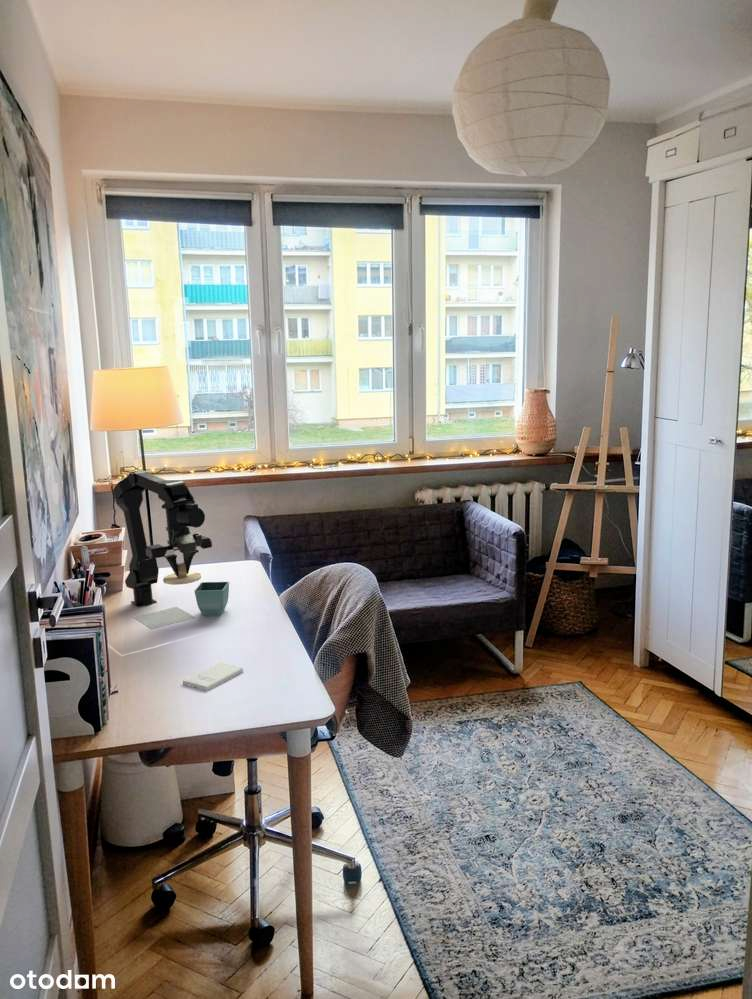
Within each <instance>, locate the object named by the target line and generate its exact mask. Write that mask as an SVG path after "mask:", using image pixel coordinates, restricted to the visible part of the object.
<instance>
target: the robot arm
mask: <svg viewBox="0 0 752 999" xmlns="http://www.w3.org/2000/svg"><path fill="white" fill-rule="evenodd" d="M146 490H148V491H150V492H152V493H154V494H157V497H158V499H159V500H161V501H162V502H164V503H163V504H162V505H161V508H162V509H165V516H166V517H165V518H166V525H167V527H166V526H165V530H166V532H167V536H168V537H167V538H168V540H167V545H165V546H164V545H161V544H157V543H156V544H152V545H148V544H147V540H146V534H145V529H144V524H143V519H142V513H141V505H142V504H143V500H144V497H143V496H144V495H143V493H144V492H145V491H146ZM112 495H113V497H114V500H115V503H116V505H117V506H118V507H119V508H120V509H121V511H122V512H123V515H124V521H125V525H126V530H127V535H128V540H129V545H130V549H131V555H132V557H131V559H130V562H129V565H128V568H129V572H128V574H127V576H126V577H125V580H124V583H125V586H126V588H129V589H131V590H132V591H133V600H131V601H130V604H131V603H132V604H131V605H133V606H134V607H137V608H140V607H144V606H148V605H152V604H153V605H154V604H157V603H158V602H157V600H155V599H154V598H153V597H154V596H153V589H152V585H153V584H158V581H159V580H158V579H159V573H160V572H159V570H160V569H159V566H158V561H157V559H158V558H165V559H166V561H167V562H168V564H169V565H170V567H171V570H172V571H173V574H174V573H175V575H176V576H178V567H177V558H178V555H177V554H175V552H176V551H179V552H180V553H181V554H182V557H183V563H186V572H187V574H188V573H189V572H190V568H191V564H192V561H193V558H194V556H195V555H196V554H197V553H199V551H200V550H199V549H198V547H200V548H201V549H202V550H206V549H209V548H212V547H213V542H212V540H211V538H210V537H207V536H205V535H202V534H201V532H196V533H191V532H190V531H191V530H190V527H192V528H196V529H197V528H200V527H201V526H203V525H204V523H205V521H206V520H205V519H206V514H205V512H204V511H203V509H201V508H200V507H199V504H198V503H196V501H195V499H194V496H193V494H191V491H190V490H189V488H188V486H187V484H186V482H184V481H183V480H179V479H177V480H176V479H175V480H174V479H172V480H168V479H164V478H162V477H159V476H156V475H155V474H151V473H148V472H147V471H146V470H136V471H131V472H129V474H128V475H127V476H126V477H124V478H123V479H122V480H120V481H119V482H117V484H115V487H114V488H113V490H112Z"/></svg>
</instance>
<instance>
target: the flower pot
mask: <svg viewBox="0 0 752 999" xmlns="http://www.w3.org/2000/svg"><path fill="white" fill-rule="evenodd" d="M229 592H230V581H202V582H200V583H199V585H198V586H197V587H196V589H195V590H194V594H195V595H194V596H195V600H196V604H197V607H198V610H199V611H200V613H201V614H202V615H203V616H204V617H211V616H212V617H213V616H214V617H215V616H218V617H219V616H222V615H223V613H224V611H225V609H226V607H227V605H228V602H229Z"/></svg>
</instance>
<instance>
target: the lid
mask: <svg viewBox="0 0 752 999" xmlns="http://www.w3.org/2000/svg"><path fill="white" fill-rule="evenodd" d="M177 567H178V576H176V575H175V573H174V572H173V573H171V574H168V575H166V576H164V577H163V580H162V582H163V583H164V584H165V585H173V586H175V585H179V586H180V585H185V584H192V583H194V582H198V581H199V580H201V578H202V574H201V573H199V572H196V571H189V573H188V574H187V572H186V563H184V562H178V563H177Z"/></svg>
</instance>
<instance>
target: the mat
mask: <svg viewBox="0 0 752 999" xmlns="http://www.w3.org/2000/svg"><path fill="white" fill-rule="evenodd" d="M133 618H134V619H135V620H136V621H138V622H139V623H140V624H142V625H144V626H146V627H147V628H149V629H150V630H153V629H154V630H155V629H157V628H161V627H166V626H170V625H173V624H176V623H180V622H184V621H189V620H192V619H195V618H197V617H196V616H194V615H192V614H190V612H189V613H188V612H187V611H185V610H184V609H182V608H180V607H178V606H175V607H170V608H164V609H162V610H157V611H153V612H150V613H145V614H141V615H137V616H133Z"/></svg>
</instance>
